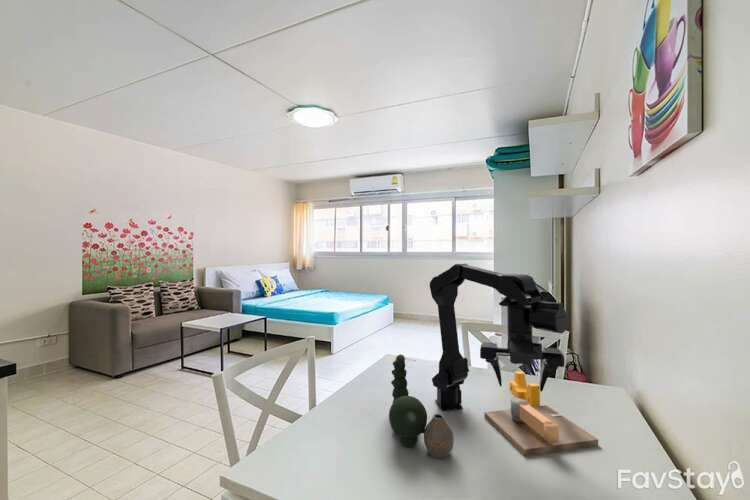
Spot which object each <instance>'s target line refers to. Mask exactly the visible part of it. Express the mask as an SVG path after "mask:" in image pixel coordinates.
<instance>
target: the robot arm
mask: <svg viewBox="0 0 750 500" xmlns="http://www.w3.org/2000/svg"><path fill="white" fill-rule="evenodd" d="M465 281H469V282H473V283H476V284H479V285H483V286H486V287H489V288H492V289H494V290H495V291H497V292H498V293H499V294H501V295H502V296H504V299H503V300H501V301H500V302H499V303H498V305H499V306H501V307H502V306H503V307H506V308H507V309H506V310H507V311H506V314H507V315H506V317H507V319H506V320H507V344H506V345H507V348H506V347H498V342H497V343H495V342H482V343H481V344H480V348H479V358H480V359H482V360H485V362H486V363H490V365H491V366H492V369H493V371H494V373H495V377H496V378H497V381H498V384H499V387H502V384H503V381H502V380H503V379H502V372H501V364H500V356H501V357H502V356H503V357H509V362H510V363H511V364H514V365H517V364H519V365H526V366H532V365H533V361H534V360H535V361H538V360H541V366H540V367H541V368H540V377H539V386H540V393H541V392H543V390H544V388H545V385H546V384H547V380H548V378H549V376H550V374H551V372H553V370H558V369H559V368H563V367H565V356H564V354H563V352H562V351H561V350H560V349H559V348H555V347H542V346H543V345H542V343H540V342H533V341H534V339H533V332H534V331H533V328H534V329H536V330H541V331H545V332H552V333H556V334H564V333H565V332H566V329H567V328H568V323H569V316H568V315H567V311H566V309H565V308H564V304H563V302H559V301H557V302H552V301H546V299H545V297H544V295H542V292H541V291H540V290H539V288H538V286H537V285H536V281H535V280H534V278H533V277H532V276H531V275H529V274H522V273H521V274H520V273H501V272H496V271H493V270H489V269H485V268H481V267H477V266H473V265H469V264H468V263H455V264H454V265H452V266H451V267H450V268H449V269H447V270H445V271H443V272H441V273H440V274H437V276H433V277H432V278H431V280H430V281H429V289H430V290H429V291H430V295H431V298H432V299H433V301H434V302H435V304H436V306H437V311H438V319H439V320H438V321H439V330H440V338H441V339H440V340H441V350H442V354H441V357H440V360H439V362H438V372H437V373H436V374H435V375H434V376H433V377H432V378H431V381H432V385H433V387H435V388H436V399H434V402H435V403H436V405H438V407H439V409H440V410H442V411H443V412H444V411H445V412H446V411H452V410H453V411H454V410H461V409H462V410H463V406H462V400H463V399H462V390H461V386H462V385H464V383H465V380H466V379H467V377H468V376H469V372H470V369H469V366H468V365H469V360H468V358H467V357H464V356H463V355H462V354H461V352H460V346H459V338H458V328H457V320H456V319H457V318H456V310H455V302H456V300H457V297H458V295H459V292H458V291H459V287H460V286H461V285H462V284H463V283H464V282H465Z"/></svg>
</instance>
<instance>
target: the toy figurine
mask: <svg viewBox="0 0 750 500" xmlns="http://www.w3.org/2000/svg"><path fill="white" fill-rule="evenodd" d="M392 365H393V368H394V369H393V370H391V374H392V376H393V380H391V385H392V387H393V390H392V393H391V395H392V397H393V401H392V404H391V406H390V407H389V410H388V411H389V413H388V420H389V424H390V427H391V431H393V433H394V434H395V435H397V436H399V441H400V444H401V445H402V446H404V447H409V448H410V447H415V446H416V445H417V444H418V442H419V439H418V436H420V435H421V434H424V431H425V428H426V426H427V424H428V412H427V410H426V407H425V406H424V404H423V403H422V402H421V400H420V399H418V398H416V397H414V396H411V395H410V394H409V390H408V388H407V386H408V381H407V379H406V377H407V370H406V369H405V368H406V357H405V356H404V354H398V355H397V356H396V358H395V360H394V361H393V362H392Z"/></svg>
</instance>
